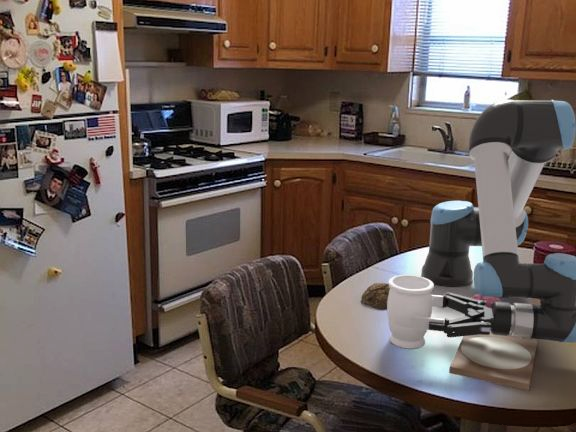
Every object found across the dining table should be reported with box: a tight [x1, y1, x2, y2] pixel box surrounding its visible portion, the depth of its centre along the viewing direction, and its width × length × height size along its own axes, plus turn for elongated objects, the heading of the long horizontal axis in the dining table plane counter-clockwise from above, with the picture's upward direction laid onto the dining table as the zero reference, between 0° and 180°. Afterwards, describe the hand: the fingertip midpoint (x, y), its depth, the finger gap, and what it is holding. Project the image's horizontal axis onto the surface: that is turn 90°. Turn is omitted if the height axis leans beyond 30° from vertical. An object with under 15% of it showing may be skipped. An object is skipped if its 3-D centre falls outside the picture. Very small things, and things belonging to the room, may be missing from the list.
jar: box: [386, 274, 435, 350], centre depth 145 cm, size 11×10×15 cm
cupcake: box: [469, 293, 502, 308], centre depth 156 cm, size 9×8×12 cm
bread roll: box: [361, 282, 390, 311], centre depth 170 cm, size 13×12×5 cm
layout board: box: [448, 330, 538, 391], centre depth 138 cm, size 22×16×2 cm
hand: (414, 309), depth 143 cm, fingers open, 13 cm apart
